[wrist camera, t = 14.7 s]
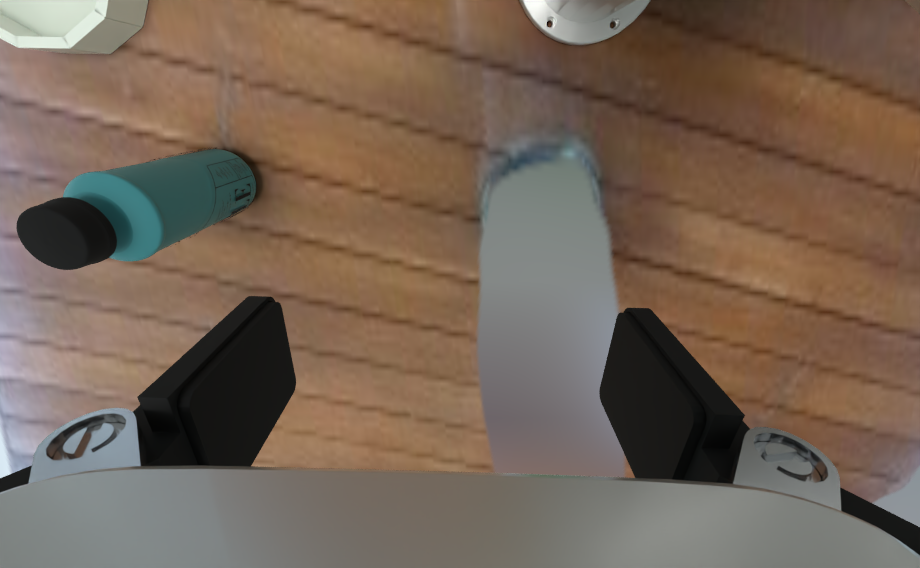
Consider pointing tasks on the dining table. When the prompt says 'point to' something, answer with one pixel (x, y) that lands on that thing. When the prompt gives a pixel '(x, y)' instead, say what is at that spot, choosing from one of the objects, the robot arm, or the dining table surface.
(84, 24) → the bowl
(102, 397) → the dining table surface
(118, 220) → the beverage bottle
